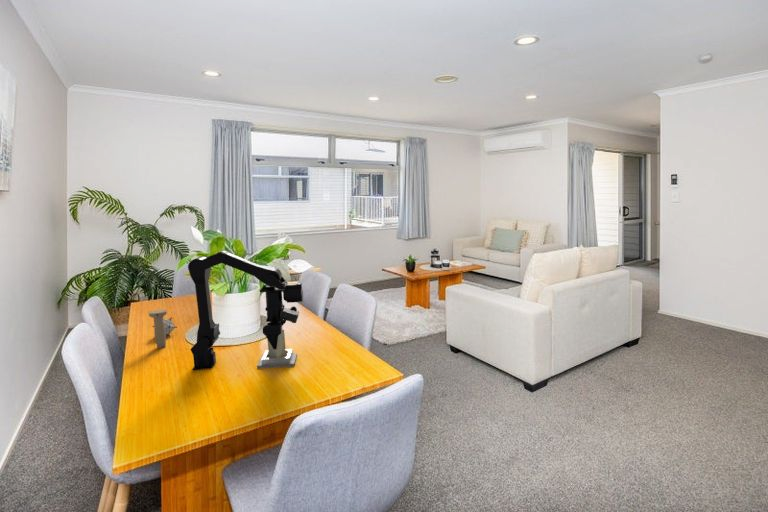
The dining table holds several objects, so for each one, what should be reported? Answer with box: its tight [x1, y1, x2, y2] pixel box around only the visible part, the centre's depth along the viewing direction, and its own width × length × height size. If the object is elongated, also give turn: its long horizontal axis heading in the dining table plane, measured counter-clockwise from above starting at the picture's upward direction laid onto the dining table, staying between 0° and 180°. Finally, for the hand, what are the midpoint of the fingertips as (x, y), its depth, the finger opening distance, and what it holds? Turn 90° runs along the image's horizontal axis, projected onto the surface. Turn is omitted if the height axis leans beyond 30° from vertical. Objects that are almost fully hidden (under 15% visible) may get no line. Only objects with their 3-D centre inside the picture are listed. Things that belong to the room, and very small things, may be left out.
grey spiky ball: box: [151, 317, 178, 337], centre depth 187 cm, size 9×8×10 cm
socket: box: [256, 348, 298, 369], centre depth 156 cm, size 13×10×3 cm
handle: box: [148, 309, 168, 349], centre depth 172 cm, size 5×6×15 cm
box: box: [266, 329, 287, 358], centre depth 155 cm, size 5×4×11 cm
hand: (276, 344), depth 155 cm, fingers open, 9 cm apart
